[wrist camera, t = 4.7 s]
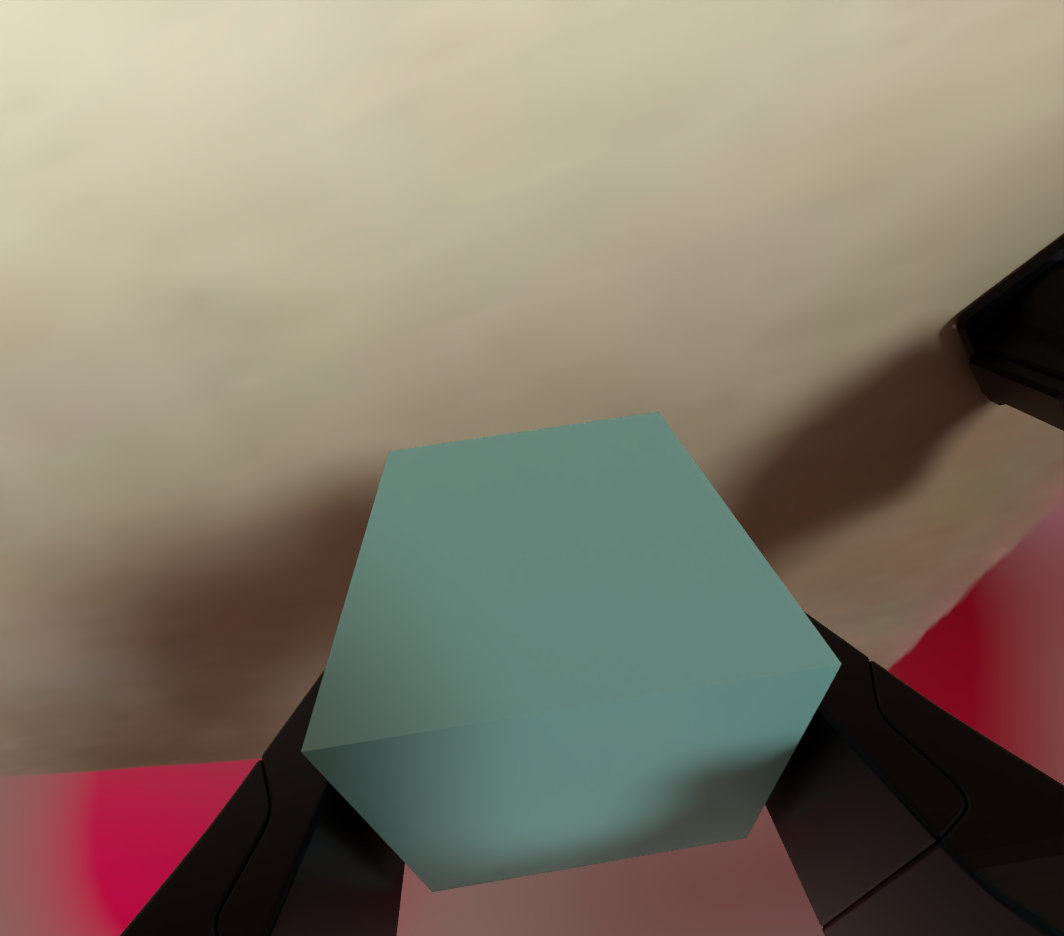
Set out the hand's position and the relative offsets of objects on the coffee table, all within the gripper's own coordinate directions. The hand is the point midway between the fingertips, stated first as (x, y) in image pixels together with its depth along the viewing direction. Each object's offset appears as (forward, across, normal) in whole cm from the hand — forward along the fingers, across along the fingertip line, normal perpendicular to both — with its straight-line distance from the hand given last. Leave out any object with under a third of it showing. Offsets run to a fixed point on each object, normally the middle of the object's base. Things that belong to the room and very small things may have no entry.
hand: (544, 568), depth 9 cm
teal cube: (+1, 0, 0) cm, 1 cm away
